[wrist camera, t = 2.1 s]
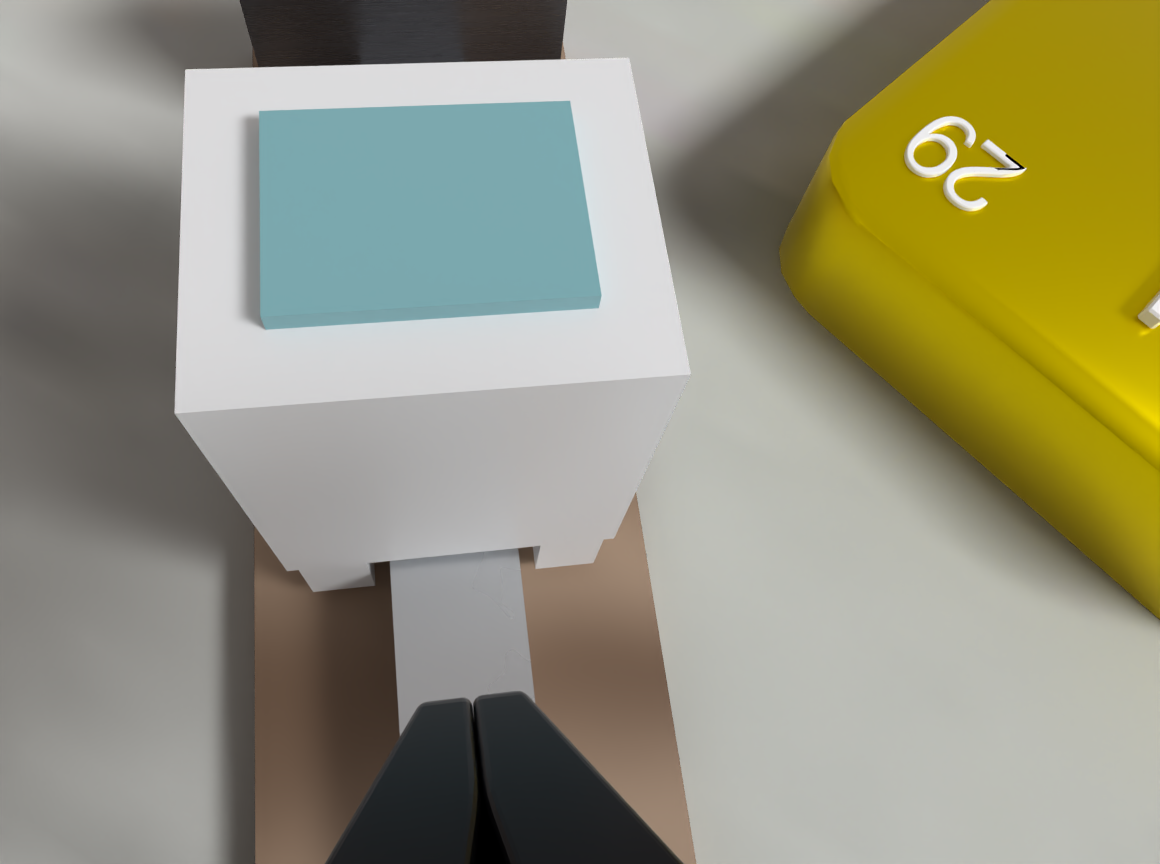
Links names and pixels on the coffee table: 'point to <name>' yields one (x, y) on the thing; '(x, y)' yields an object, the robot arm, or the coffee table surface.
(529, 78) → the block
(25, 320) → the coffee table surface
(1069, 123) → the element tile
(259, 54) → the rail
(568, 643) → the mounting board
